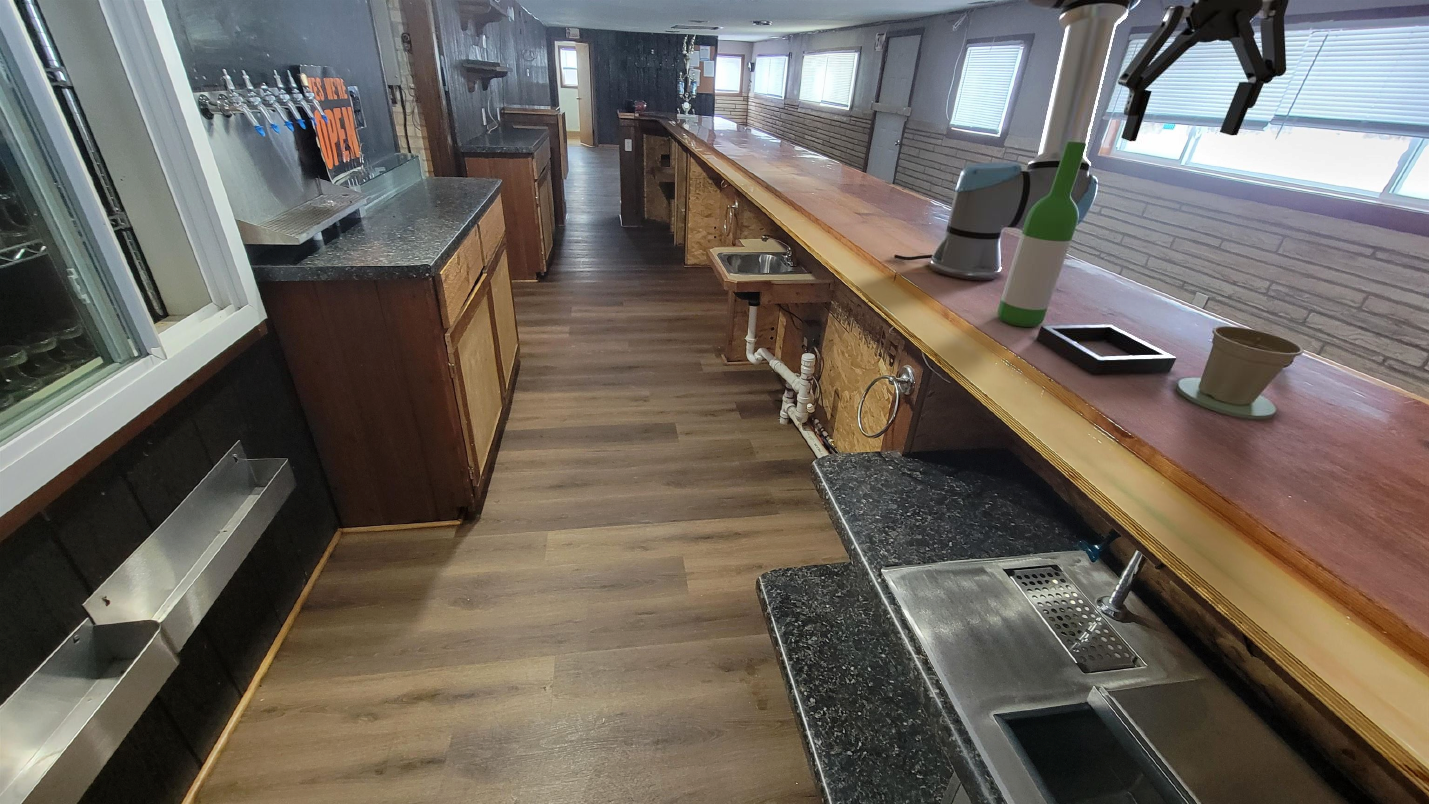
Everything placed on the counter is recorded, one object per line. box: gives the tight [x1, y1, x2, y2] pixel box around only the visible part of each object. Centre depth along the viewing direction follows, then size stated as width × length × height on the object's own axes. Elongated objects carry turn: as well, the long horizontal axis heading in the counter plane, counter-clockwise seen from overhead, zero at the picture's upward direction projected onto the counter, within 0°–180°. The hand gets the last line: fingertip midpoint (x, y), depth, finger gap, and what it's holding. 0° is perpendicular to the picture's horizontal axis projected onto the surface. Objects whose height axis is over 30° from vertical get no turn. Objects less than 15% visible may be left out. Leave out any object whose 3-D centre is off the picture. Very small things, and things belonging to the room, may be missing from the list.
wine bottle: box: [997, 142, 1088, 328], centre depth 96 cm, size 8×8×30 cm
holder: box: [1035, 324, 1177, 376], centre depth 91 cm, size 13×13×2 cm
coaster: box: [1175, 377, 1277, 420], centre depth 79 cm, size 11×11×1 cm
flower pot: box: [1198, 325, 1305, 405], centre depth 77 cm, size 9×9×9 cm
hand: (1177, 137), depth 83 cm, fingers open, 13 cm apart
